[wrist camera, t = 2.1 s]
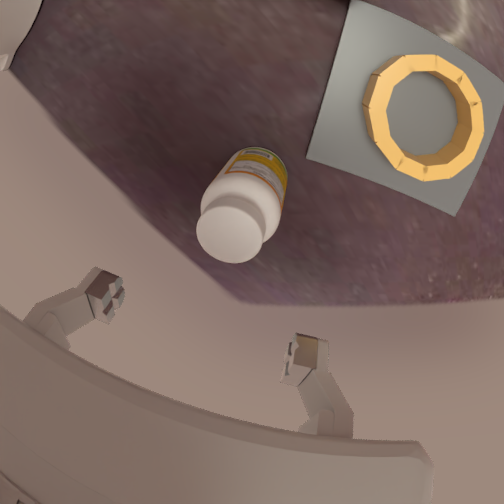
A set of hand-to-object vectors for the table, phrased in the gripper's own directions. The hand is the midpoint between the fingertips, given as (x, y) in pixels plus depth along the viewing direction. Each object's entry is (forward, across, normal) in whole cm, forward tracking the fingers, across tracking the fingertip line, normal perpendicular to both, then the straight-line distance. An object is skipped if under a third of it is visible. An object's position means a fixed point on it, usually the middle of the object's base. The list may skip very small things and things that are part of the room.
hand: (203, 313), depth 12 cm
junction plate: (+15, -10, -10) cm, 21 cm away
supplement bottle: (+15, +1, 0) cm, 16 cm away
